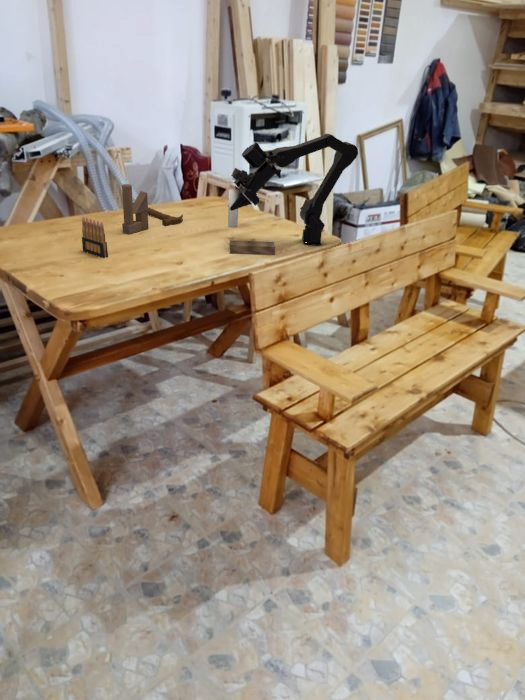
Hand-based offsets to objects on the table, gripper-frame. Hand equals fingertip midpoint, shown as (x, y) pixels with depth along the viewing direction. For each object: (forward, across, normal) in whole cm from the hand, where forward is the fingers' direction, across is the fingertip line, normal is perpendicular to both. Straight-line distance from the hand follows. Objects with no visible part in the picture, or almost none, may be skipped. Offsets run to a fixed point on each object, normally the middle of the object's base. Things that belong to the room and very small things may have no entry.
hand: (229, 208), depth 203 cm
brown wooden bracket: (+33, -19, -14) cm, 41 cm away
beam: (+5, +9, +14) cm, 17 cm away
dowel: (+4, 0, +6) cm, 7 cm away
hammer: (+26, -41, -7) cm, 49 cm away
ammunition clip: (+43, +8, -24) cm, 50 cm away
